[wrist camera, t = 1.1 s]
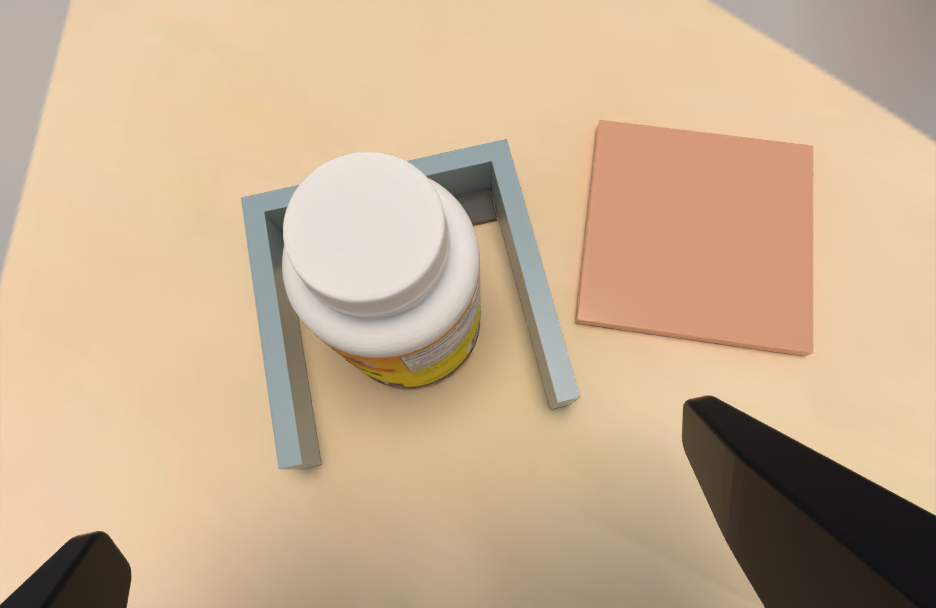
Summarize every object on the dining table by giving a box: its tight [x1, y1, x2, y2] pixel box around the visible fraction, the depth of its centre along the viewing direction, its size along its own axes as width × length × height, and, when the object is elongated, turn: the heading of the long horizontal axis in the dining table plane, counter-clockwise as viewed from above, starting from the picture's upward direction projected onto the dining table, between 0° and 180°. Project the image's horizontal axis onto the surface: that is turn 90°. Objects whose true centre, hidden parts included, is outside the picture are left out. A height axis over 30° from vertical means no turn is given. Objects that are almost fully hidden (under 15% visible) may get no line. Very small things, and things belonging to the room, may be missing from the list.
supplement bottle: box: [282, 152, 480, 389], centre depth 19 cm, size 6×6×10 cm
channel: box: [241, 139, 580, 469], centre depth 23 cm, size 10×11×2 cm
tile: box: [575, 120, 813, 356], centre depth 24 cm, size 9×9×1 cm
